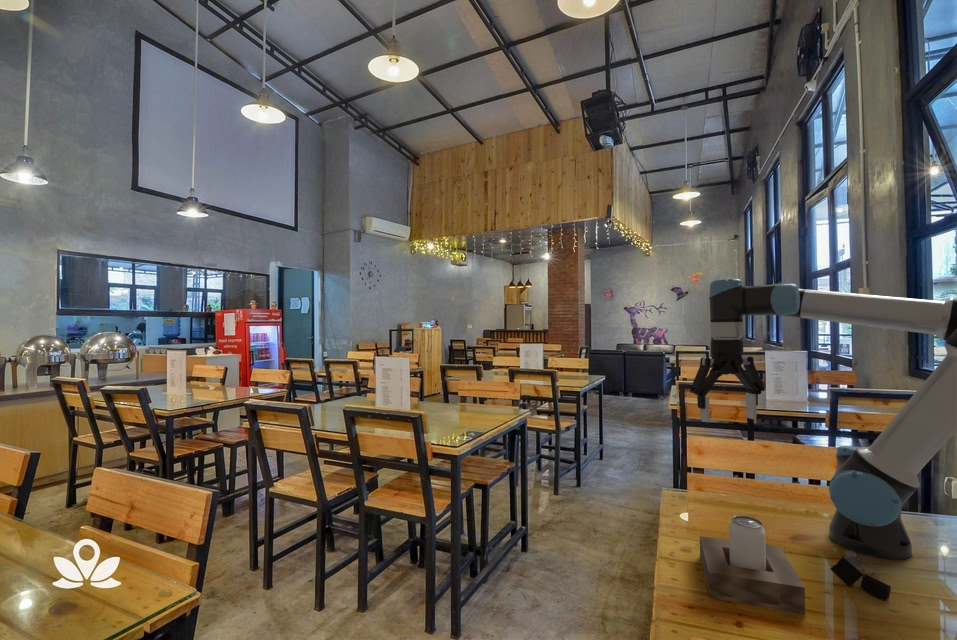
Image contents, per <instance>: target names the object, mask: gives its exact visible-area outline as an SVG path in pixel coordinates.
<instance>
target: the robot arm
mask: <svg viewBox="0 0 957 640" xmlns="http://www.w3.org/2000/svg"><path fill="white" fill-rule="evenodd" d="M708 297H709V298H708V299H709V316H710V317H709V319H710V322H709V323H710V326H709V328H710V329H709V330H710V332H709V333H710V337H711V338H712V339H711V340H710V353H711V355H712V356H711V358H710V357H705V356H703V357H701V358H700V363H699V368H698V370H697V372H696V375H695V377H694V379H693V382H692V385H691V387H690V389H689V393H691V394H694V395H696V397H697V399H696V400H697V402H696V403H697V408H698V409H699V420H700V421H702V422H704V423H710V422H711V421H710V419H711V418H710V396H708V393H709V392H710V390H711V389H712V388H713V386H714V385H715V383H716V382H717V381H718V380H719V377H722V376H723V375H726V376H727V375H734V376H735V377H736V378H737V379H738V381H739V382H740V383H741V384H742V386H744V388H745V389H746V390H747V392H745V418H748V419H750V420H757V406H759V397H758V395H761V394H762V392H764V391H766V388H765V385H764V383H763V380H762V379H761V377H760V374H759V372H758V370H757V368H756V365H755V361H754V357H753V356H747V355H743V353H744V340H743V339H742V338H743V337H744V321H743V320H744V319H743V318H744V317H743V316H782V317H791V318H797V319H798V318H800V319H807V320H817V321H825V322H831V323H832V322H833V323H840V324H847V325H848V324H849V325H856V326H864V327H872V328H880V329H888V330H895V331H896V330H897V331H901V332H902V331H904V332H912V333H920V334H928V335H934V336H936V337H937V338H938V339H939V340H941V341H945V342H944V343H943V346H944V348H945V350H946V356H945V357H944V358H943V359H942V361H940V363H939V364H938V365H937V367H936V368H935V369H934V370H933V371H932V372H931V374H930V375H929V376H928V377H927V378H926V379H925V381H924V382H923V383H922V384H921V385H920V387H919V388H917V390H916V392H915V393H913V395H912V396H911V397H910V398H909V400H908V401H907V402H906V403H905V404H904V406H902V407H901V409H900V410H899V411H898V412H897V414H896V415H895V416H894V417H893V418H892V419H891V421H890V422H889V423H888V424H887V426H885V428H884V429H883V430H882V431H881V433H880V434H879V435H878V436H877V437H876V439H875V440H874V441H873V442H872V443H871V445H869V446H853V445H840V446H837V448H836V454H835V458H836V470H835V471H834V474H833V476H832V478H831V479H830V481H829V484H828V492H829V498H830V500H831V503H832V504H833V505H834V507H835V508H836V509H835V511H834V514H833V516H832V519H831V521H830V523H829V529H828V531H829V537H830V539H831V540H832V541H833V542H834V543H836V544H838V545H840V546H841V547H843V548H845V549H847V550H850V551H853V552H856V553H859V554H862V555H865V556H870V557H872V558H873V557H874V558H880V559H887V560H905V559H909V558H910V557H911V556H912V555H913V548H912V547H913V545H912V542H911V539H910V537H909V535H908V533H907V532H908V531H907V530H906V527H905V525H904V523H903V520H902V514H901V513H902V509H903V505H904V504H905V503H906V502H907V500H909V499H910V497H911V496H912V495H913V494H914V493H915V492H916V491H917V490H918V489H919V487H920V486H921V483H920V481H919V477H918V475H919V473H920V471H922V469H923V468H924V467H925V466H926V465H927V464H928V463H929V462H930V461H931V459H932V458H933V457H935V456H936V454H937V453H938V452H939V451H940V450H941V448H943V447H944V445H945V444H946V443H947V442H948V441H949V440H950V439H951V438H952V437H953V435H954V434H956V432H957V297H952V296H950V297H948V298H946V299H943V300H932V299H923V298H920V299H919V298H910V297H909V298H908V297H898V296H885V295H876V294H866V293H865V294H864V293H863V294H862V293H852V292H842V291H841V292H840V291H828V290H817V289H816V290H815V289H806V288H805V289H804V288H799V286H798V285H797V284H796V283H775V284H763V285H762V284H761V285H751V286H749V285H747V286H746V285H744V284H743V281H742V280H741V279H737V278H730V279H727V278H726V279H725V278H724V279H716V280H713V281H711V282H710V285H709V296H708ZM742 355H743V356H742ZM742 365H743V367H742ZM711 366H712V367H711Z"/></svg>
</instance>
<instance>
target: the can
mask: <svg viewBox="0 0 957 640" xmlns="http://www.w3.org/2000/svg"><path fill="white" fill-rule="evenodd" d="M763 526H764V524H763V522H762V521H760V519H757V518H754V517H751V516H747V515H734V516H732V517H731V521H730V523H729V529H728V530H729V531H728V532H729V533H728V534H729V537H728V540H729V548H730V566H735V567H741V568H748V569H755V570H761V571H766V547H765V545H766V531H765V529H764V527H763Z"/></svg>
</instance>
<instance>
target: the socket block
mask: <svg viewBox="0 0 957 640" xmlns="http://www.w3.org/2000/svg"><path fill="white" fill-rule="evenodd" d="M765 547H766V571H761V570H755V569H748V568H741V567H735V566H730V548H729V539H724V538H717V537H710V536H702V535H699V558H700V564H701V568H702V572H703V577H704V581H705V585H706V589H707V590H706V591H707V595H708V598H710V599H716V600H719V601H720V600H721V601H728V602H732V603H737V604H743V605H749V606H755V607H760V608H765V609H767V608H768V609H772V610H777V609H778V610H779V611H782V610H783V612H788V611H789V612H790V613H794V614H801V615H806V587H805V585H804V584H803V582H802V580H801V578H800V577H799V575H798V573H797V572H796V571H795V568H794V567H793V565H792V564H791V562H790V560H789V559H788V557H787V555H786V553H785V552H784V550H783V549H782V547H781V546H775V545H768V544H765Z"/></svg>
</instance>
